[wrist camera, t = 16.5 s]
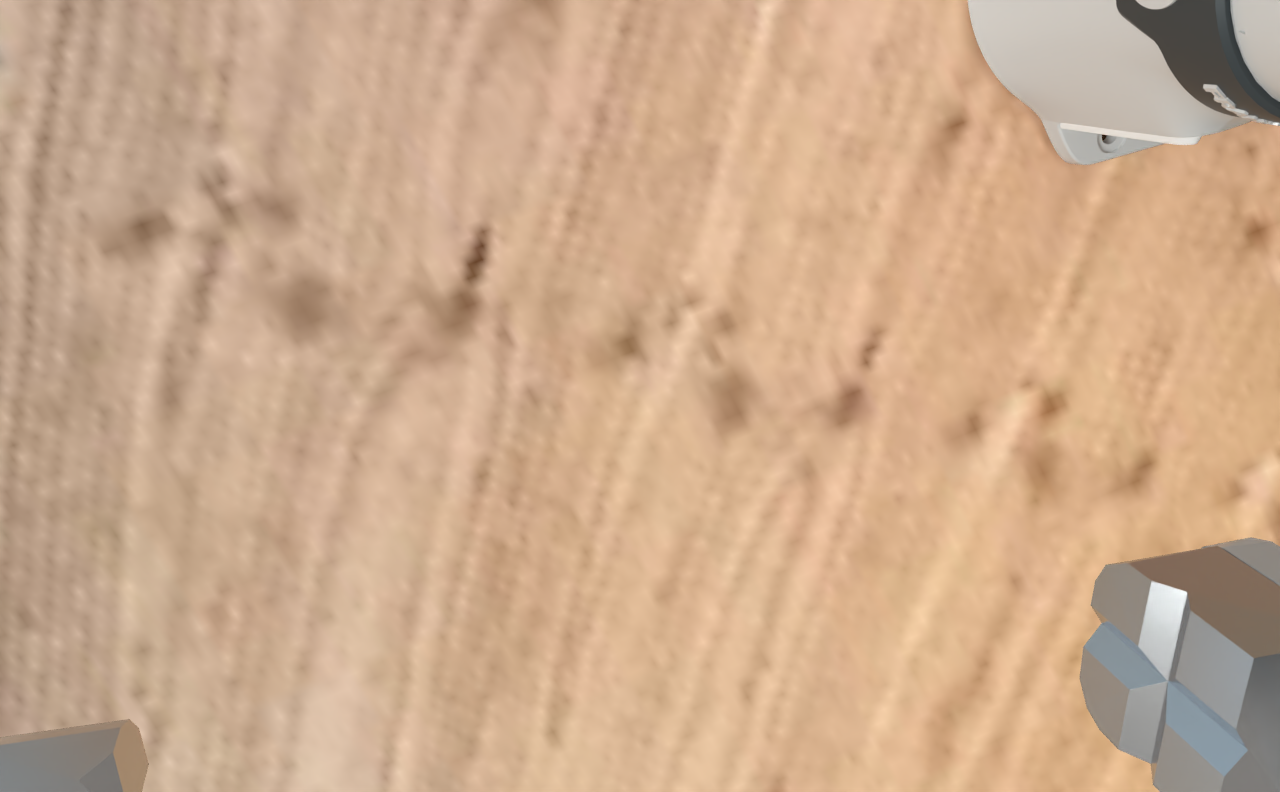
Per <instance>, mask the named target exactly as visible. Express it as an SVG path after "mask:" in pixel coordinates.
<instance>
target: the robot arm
mask: <svg viewBox="0 0 1280 792" xmlns="http://www.w3.org/2000/svg"><path fill="white" fill-rule="evenodd" d="M968 7H969V13H970V19H971V23H972V27H973V31H974V34H975V37H976V40H977V43H978V45H979V47H980V50H981V52H982V54H983V56H984V58H985V60H986V62H987V64H988V65H989V67H990V68H991V70H992V71H993V73H994V74H995V75H996V77H997V78H998V79H999V81H1000V82H1001V83H1002V84H1003V85H1004V86H1005V87H1006V88H1007V89H1008V90H1009V91H1010V92H1011V93H1012V94H1013V95H1014V96H1016V97H1017V98H1018V99H1019V100H1021V101H1022V102H1023V103H1025V104H1026V105H1027V106H1028V107H1030V108H1031V109H1032V110H1033V111H1034V112H1035V113H1036V114H1037V115H1038V116H1039V118H1040V119H1041V120H1042V123H1043V125H1044V127H1045V130H1046V132H1047V134H1048V136H1049V139H1050V141H1051V143H1052V145H1053V147H1054V148H1055V150H1056V152H1057V153H1058V155H1059V156H1060V157H1061V158H1062V159H1063V160H1064V161H1065V162H1067V163H1070V164H1078V165H1091V164H1095V163H1099V162H1102V161H1106V160H1109V159H1113V158H1116V157H1120V156H1123V155H1127V154H1130V153H1134V152H1137V151H1141V150H1144V149H1148V148H1151V147H1155V146H1158V145H1162V144H1165V143H1167V144H1175V145H1194V144H1196V143H1198V141H1199V140H1200V138H1201V137H1202V136H1205V135H1210V134H1215V133H1219V132H1222V131H1225V130H1228V129H1231V128H1234V127H1237V126H1240V125H1243V124H1246V123H1248V122H1251V121H1253V122H1257V123H1263V124H1270V125H1278V126H1280V0H968ZM1102 134H1103V135H1107V136H1106V138H1105V139H1104V140H1103V141H1102ZM1091 606H1092V608H1093V610H1094V611H1095V613H1096V614H1097V616H1098V618H1099V619H1100V621H1101V623H1102V624H1101V625H1100V626H1099V628H1098V629H1097V630H1096V631H1095V633H1094V634H1093V635H1092V637H1091V638H1090V639H1089V640H1088V642H1087V643H1086V644H1085V646H1084V647H1083V655H1082V663H1081V671H1080V682H1081V686H1082V690H1083V694H1084V698H1085V702H1086V706H1087V709H1088V711H1089V712H1090V714H1091V716H1092V717H1093V719H1094V721H1095V723H1096V724H1097V726H1098V728H1099V730H1100V731H1101V732H1102V733H1103V734H1104V735H1105V736H1106V737H1107V738H1108V739H1109V740H1110V741H1111V742H1112V743H1113V744H1114V745H1115V746H1116V747H1117V749H1119V750H1121V751H1123V752H1126V753H1128V754H1130V755H1132V756H1135V757H1137V758H1139V759H1141V760H1144V761H1146V762H1148V763H1150V764H1151V771H1152V780H1153V785H1154V786H1155V787H1156V788H1157V789H1158V790H1159V791H1160V792H1280V547H1279V546H1278V545H1276V544H1275V543H1273V542H1271V541H1266V540H1261V539H1256V538H1245V539H1240V540H1235V541H1230V542H1225V543H1220V544H1214V545H1209V546H1204V547H1202V548H1201V549H1196V550H1190V551H1185V552H1179V553H1173V554H1167V555H1161V556H1155V557H1149V558H1143V559H1137V560H1132V561H1126V562H1120V563H1114V564H1108V565H1106V566H1105V567H1104V569H1103V570H1102V572H1101V573H1100V575H1099V576H1098V578H1097V579H1096V581H1095V586H1094V591H1093V596H1092V602H1091ZM148 765H149V763H148V760H147V756H146V753H145V749H144V745H143V742H142V738H141V734H140V731H139V728H138V727H137V726H136V725H135V724H134V723H133V722H132V721H131V720H130V719H128V720H120V721H113V722H106V723H99V724H92V725H84V726H77V727H70V728H63V729H56V730H49V731H41V732H34V733H27V734H20V735H13V736H5V737H0V792H142V789H143V785H144V781H145V777H146V773H147V769H148Z"/></svg>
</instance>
